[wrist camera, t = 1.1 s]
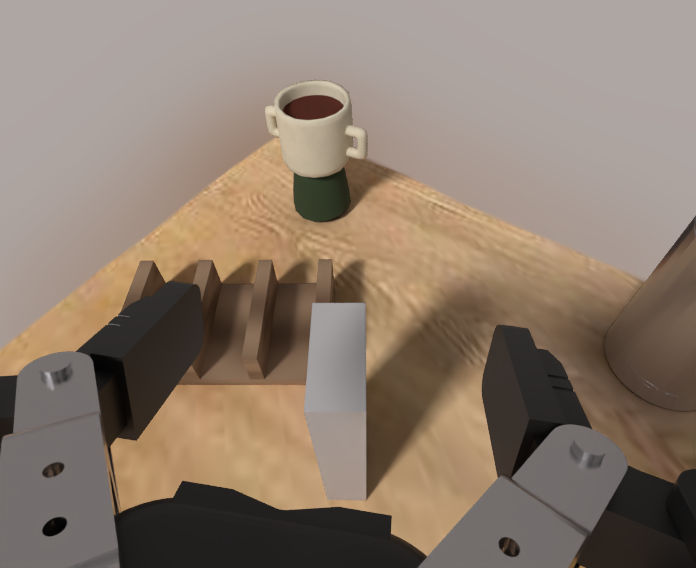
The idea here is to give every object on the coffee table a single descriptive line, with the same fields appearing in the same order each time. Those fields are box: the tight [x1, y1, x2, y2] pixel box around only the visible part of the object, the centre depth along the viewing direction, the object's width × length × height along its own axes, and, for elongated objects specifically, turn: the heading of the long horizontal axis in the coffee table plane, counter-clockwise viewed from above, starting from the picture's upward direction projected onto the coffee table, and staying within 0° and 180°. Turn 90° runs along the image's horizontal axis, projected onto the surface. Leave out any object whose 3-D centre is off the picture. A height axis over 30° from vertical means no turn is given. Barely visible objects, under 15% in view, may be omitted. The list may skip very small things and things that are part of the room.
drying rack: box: [121, 259, 335, 385], centre depth 41 cm, size 10×17×4 cm, turn 89°
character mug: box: [265, 80, 367, 222], centre depth 47 cm, size 11×7×13 cm, turn 65°
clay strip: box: [304, 303, 366, 500], centre depth 29 cm, size 6×3×16 cm, turn 179°
